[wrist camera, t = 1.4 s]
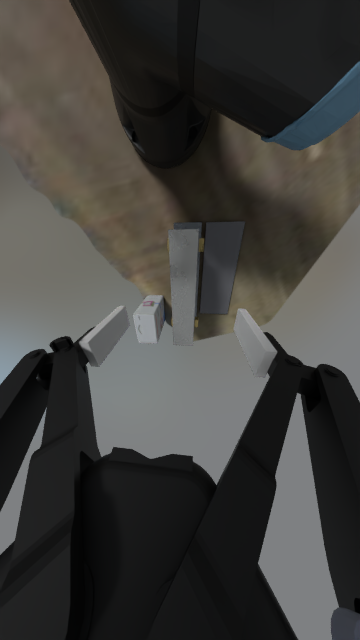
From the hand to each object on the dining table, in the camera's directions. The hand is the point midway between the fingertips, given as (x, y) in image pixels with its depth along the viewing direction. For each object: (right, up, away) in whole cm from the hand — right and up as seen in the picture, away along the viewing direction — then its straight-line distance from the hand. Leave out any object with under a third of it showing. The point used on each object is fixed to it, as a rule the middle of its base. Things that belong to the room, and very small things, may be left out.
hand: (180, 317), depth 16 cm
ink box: (-7, +3, +25) cm, 26 cm away
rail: (+1, +7, +13) cm, 14 cm away
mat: (+10, +11, +18) cm, 24 cm away
